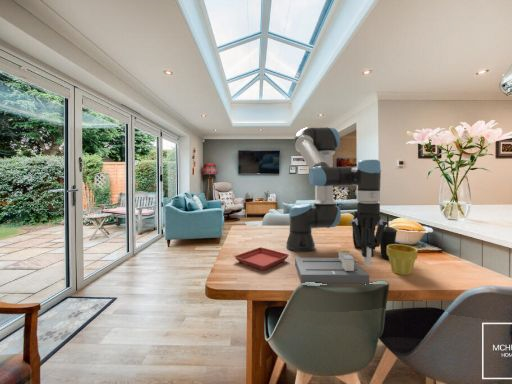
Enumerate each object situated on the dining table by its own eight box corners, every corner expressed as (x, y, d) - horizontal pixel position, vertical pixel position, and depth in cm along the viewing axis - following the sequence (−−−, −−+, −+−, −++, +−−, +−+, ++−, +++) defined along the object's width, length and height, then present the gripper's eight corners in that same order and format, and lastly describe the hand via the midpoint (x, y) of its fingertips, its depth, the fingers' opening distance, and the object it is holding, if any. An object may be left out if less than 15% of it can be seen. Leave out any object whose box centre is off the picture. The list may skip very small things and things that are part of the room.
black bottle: (399, 261, 104) (400, 217, 103) (380, 260, 105) (381, 216, 104) (393, 256, 111) (393, 214, 110) (375, 255, 113) (376, 214, 112)
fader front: (345, 270, 86) (345, 258, 85) (341, 266, 90) (341, 255, 90) (353, 270, 86) (354, 258, 85) (350, 266, 90) (350, 255, 89)
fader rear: (341, 262, 95) (341, 251, 94) (338, 258, 99) (338, 248, 98) (349, 262, 94) (349, 251, 94) (345, 258, 99) (345, 248, 98)
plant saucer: (263, 273, 94) (263, 265, 94) (233, 263, 106) (233, 255, 106) (289, 261, 107) (289, 254, 107) (260, 253, 119) (260, 247, 119)
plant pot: (407, 279, 86) (407, 253, 85) (380, 269, 95) (381, 246, 95) (422, 273, 91) (423, 249, 90) (396, 265, 100) (396, 242, 99)
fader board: (300, 282, 84) (300, 274, 84) (295, 264, 102) (295, 257, 102) (369, 283, 83) (369, 274, 83) (351, 264, 101) (351, 257, 101)
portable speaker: (373, 250, 120) (373, 212, 119) (353, 249, 123) (353, 212, 122) (369, 246, 128) (370, 210, 127) (351, 244, 131) (351, 210, 130)
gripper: (354, 203, 83) (353, 269, 84) (392, 203, 82) (390, 269, 83) (346, 201, 90) (346, 261, 91) (381, 201, 89) (380, 261, 91)
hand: (367, 265), depth 87 cm, fingers closed
